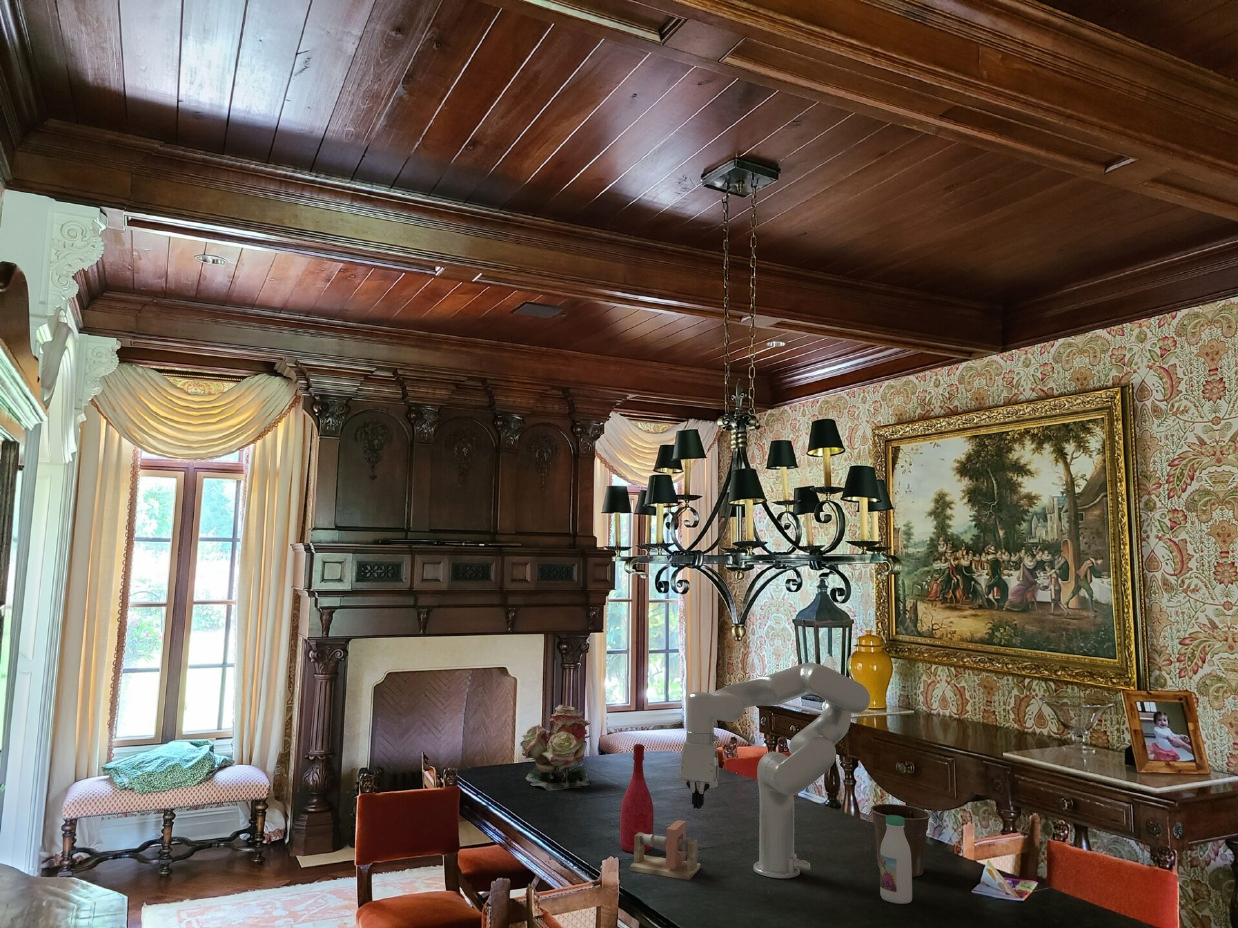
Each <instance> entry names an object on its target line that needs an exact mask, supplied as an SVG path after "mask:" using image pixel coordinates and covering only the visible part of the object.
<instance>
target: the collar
mask: <svg viewBox="0 0 1238 928" xmlns="http://www.w3.org/2000/svg"><path fill="white" fill-rule="evenodd" d="M686 828H687V821H686V820H681V819H680V820H679V819H677V820H676V821H674V822H673V823H672V824H671V825H669V826H668V827H667V828H666V836H665V837H666V848H665V858H666V868H671V869H675V868H676V867H677V866H678V865H679V864H680V863H681V862H682V861H685V860H686V851H683V850H678V839H684V840H687V838H686V837H687V836H686V835H687V829H686Z"/></svg>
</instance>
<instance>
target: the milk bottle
mask: <svg viewBox="0 0 1238 928" xmlns="http://www.w3.org/2000/svg"><path fill="white" fill-rule="evenodd" d="M886 825H887V829H886V833H885V836H884V838H883V840H882V843H881V848H880V869H879V885H880V886H879V887H880V888H879V891H880V896H881V899H882V900H884V901H886V902H889V903H892V904H899V905H900V904H901V905H902V904H903V905H904V904H909V903H911V902H912V900H913V883H912V882H913V877H912V866H911V851H910V847H909V844H908V842H907V839H906V837H905V834H904V829H903V828H904V818H903V817H901V816H897V815H888V816H886Z"/></svg>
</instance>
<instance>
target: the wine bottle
mask: <svg viewBox="0 0 1238 928" xmlns="http://www.w3.org/2000/svg"><path fill="white" fill-rule="evenodd" d="M632 759H633V768H632V769H633V771H632V776H631V780H630V781H629V784H628V787H627V789H626V791H625V793H624V796H623V799H622V801H621V807H620V824H619V825H620V827H619V828H620V829H619V833H620V834H619V837H620V839H619V842H620V847H621V849H622V850H624V851H626V852H629V853H632V854H634V837H635V835H636V834H638V833H639V832H642V833H645V834H648V835H650V834H652V835H654V823H655V821H654V816H655V813H654V811H655V810H654V804H653V803H654V802H653V800H652V796H651V793H650V790H649V788H648V786H647V782H646V780H645V775H644V764H643V763H644V760H645V745H643V744H642V743H636V744H634V745H633V756H632ZM652 848H653V847H650V846H648V845H644V853H646V852H649V851H650V850H652Z"/></svg>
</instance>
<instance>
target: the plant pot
mask: <svg viewBox="0 0 1238 928" xmlns="http://www.w3.org/2000/svg"><path fill="white" fill-rule="evenodd" d="M870 811H871V813H872V821H873V824H874V830H875V831H874V833H875V843H876V857H877V866H878V869H879V870H880V848H881V843H882V840H883V838H884V836H885V833H886V829H887V825H886V816H888V815H897V816H901V817H903V818H904V828H903V829H904V834H905V837H906V839H907V842H908V844H909V847H910V851H911V866H912V878H917V877H920V876H922V875H924V871H925V870H924V867H925V855H926V844H927V831H928V830H929V823H930V819H931V817H932V814H931V813H930V812H929V811H927V810H926V809H925V810H924V809H922V808H919V807H915V806H910V805H904V804H897V803H896V804H895V803H881V804H880V803H879V804H874V805H871V807H870ZM916 876H917V877H916Z"/></svg>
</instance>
